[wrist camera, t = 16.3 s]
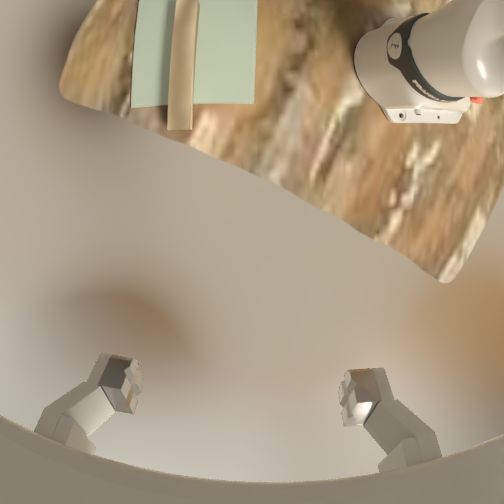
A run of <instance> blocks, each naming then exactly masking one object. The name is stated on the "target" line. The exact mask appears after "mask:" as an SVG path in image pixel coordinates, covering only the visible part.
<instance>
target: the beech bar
mask: <svg viewBox="0 0 504 504" xmlns="http://www.w3.org/2000/svg"><path fill="white" fill-rule="evenodd" d="M199 13H200V4H199V1H198V0H177V1H176V9H175V18H174V27H173V37H172V48H171V61H170V76H169V94H168V122H167V130H190V129H192V122H193V96H194V77H195V61H196V47H197V35H198V23H199Z"/></svg>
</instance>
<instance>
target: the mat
mask: <svg viewBox="0 0 504 504" xmlns="http://www.w3.org/2000/svg"><path fill="white" fill-rule="evenodd" d="M176 1H177V0H139V7H138V14H137V23H136V32H135V42H134V55H133V70H132V91H131V108H138V107H149V106H162V105H168V94H169V76H170V61H171V48H172V37H173V27H174V18H175V9H176ZM198 1H199V4H200V13H199V23H198V35H197V47H196V61H195V77H194V96H193V104H209V103H235V104H254V86H255V58H256V31H257V4H258V0H198Z"/></svg>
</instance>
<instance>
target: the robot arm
mask: <svg viewBox="0 0 504 504" xmlns="http://www.w3.org/2000/svg"><path fill="white" fill-rule="evenodd" d="M354 62H355V69H356V73H357V76H358V78H359V80H360V82H361V84H362V86H363V87H364V89H365V90H366V91H367V93H368V94H369V95H370V96H371V97H372V98H373V99H374V100H375V101H376V102H377V103H378V104H379V105H380V106H381V108H382V110H383V112H384V114H385V116H386V117H387V119H388V120H389V121H390V122H391V123H444V124H455V123H458V121H459V120H460V118H461V116H462V113H463V112H466V111H467V110H468V108H469V106H470V104H471V101H472V102H474V103H478V104H482V103H483V97H497V96H500V95H502V94H504V0H452V1H451V2H449V3H448V4H446V5H444V6H443V7H441V8H439V9H438V10H436V11H434V12H432V13H423V14H420V15H415V16H409V17H406V18H403V19H400V20H398V19H396V18H391V19H388V20H386V21H385V23H384V24H383V25H382V26H381V27H380V28H377V29H374V30H372V31H369V32H368V33H366V34H365V35H364V36H363V37H362V38H361V39H360V40H359V42H358V44H357V46H356V49H355V55H354ZM399 114H401V118H400V117H399ZM138 365H139V364H138V362H137V359H133V358H127V357H122V356H117V355H112V354H107V353H101V354H100V355H99V357H98V359H97V361H96V363H95V365H94V367H93V369H92V371H91V374H90V375H89V378H88V380H87V382H82V383H81V384H79V385H78V386H76V387H75V388H73V389H72V390H71V391H69V392H68V393H66V394H65V395H63V396H62V397H60V398H59V399H58V400H56V401H54V402H53V403H51V404H50V405H49V406H47V407H46V408H44V410H43V412H42V415H41V417H40V419H39V421H38V424H37V426H36V428H35V430H34V432H33V431H31V430H29V429H27V428H25V427H22V426H20V425H18V424H16V423H14V422H12V421H10V420H9V419H7V418H5V417H3V416H1V415H0V504H504V434H503V435H500V436H498V437H495V438H493V439H491V440H488V441H486V442H483V443H481V444H478V445H476V446H474V447H471V448H468V449H465V450H463V451H460V452H457V453H454V454H451V455H448V456H445V457H442V454H441V451H440V448H439V444H438V441H437V438H436V435H435V432H434V431H433V430H432V429H431V428H430V427H429V426H427V425H426V424H425V423H424V422H423V421H422V420H421V419H419V418H418V417H417V416H416V415H414V413H412V412H411V411H410V410H409V409H408V408H407V407H406V406H404V405H403V404H402V403H401V402H400V401H399V400H394V397H393V394H392V391H391V387H390V385H389V382H388V378H387V375H386V372H385V370H384V368H372V369H370V368H368V369H354V370H347V371H346V372H345V375H344V377H345V380H344V381H342V382H341V384H340V387H339V402H340V404H341V405H342V406H343V407H344V409H343V411H342V413H341V414H342V419H343V425H344V426H357V425H363V426H364V428H365V429H366V430H367V431H368V432H369V433H370V435H371V436H372V437H373V438H374V439H375V440H376V442H377V443H378V444H379V445H380V446H381V448H382V449H383V450H384V451H385V452H386V453H387V456H386V457H385V458H384V459H383V460H382V461H381V462H380V463H379V465H378V468H379V473H375V474H369V475H363V476H356V477H349V478H341V479H331V480H320V481H307V482H306V481H305V482H240V481H225V480H213V479H205V478H197V477H189V476H182V475H176V474H170V473H164V472H159V471H154V470H149V469H145V468H140V467H135V466H132V465H128V464H124V463H120V462H116V461H113V460H109V459H106V458H102V457H99V456H96V455H94V453H95V450H96V447H95V445H94V444H93V443H92V442H91V440H90V439H89V438H88V437H89V436H90V435H91V434H92V433H93V432H94V431H95V430H96V429H97V428H98V427H99V426H100V425H102V424H103V423H104V422H105V421H106V420H107V419H108V418H109V417H110V416H111V415H112V414H113V413H114V412H115V411H119V412H125V413H130V414H134V412H135V409H136V406H137V402H138V401H137V398H136V396H137V395H138V394H139V393H141V390H142V386H143V375H142V372H141V371H140V370H139V369H138Z"/></svg>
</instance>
